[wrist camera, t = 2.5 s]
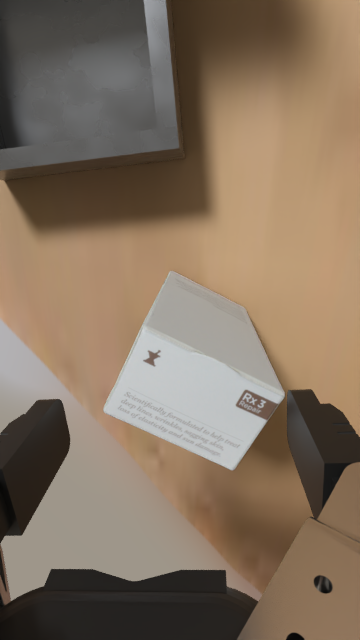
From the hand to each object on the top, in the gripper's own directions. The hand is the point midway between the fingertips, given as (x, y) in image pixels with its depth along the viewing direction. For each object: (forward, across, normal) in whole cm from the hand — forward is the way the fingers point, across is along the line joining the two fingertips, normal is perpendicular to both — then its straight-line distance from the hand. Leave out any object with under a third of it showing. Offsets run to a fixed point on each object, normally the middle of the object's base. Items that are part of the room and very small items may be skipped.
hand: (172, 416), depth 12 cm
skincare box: (+13, -1, 0) cm, 13 cm away
